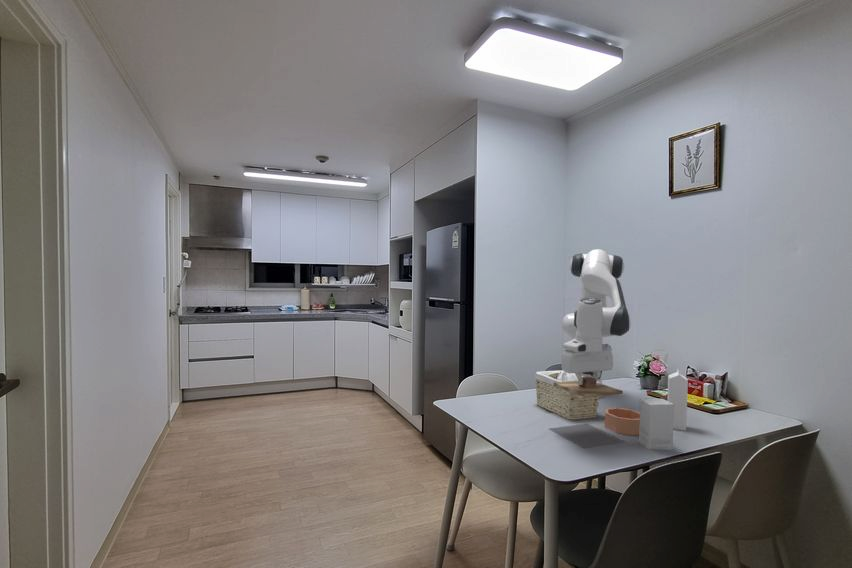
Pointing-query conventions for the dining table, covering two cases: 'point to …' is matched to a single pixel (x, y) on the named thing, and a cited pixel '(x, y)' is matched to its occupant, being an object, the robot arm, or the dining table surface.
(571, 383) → the oak lid
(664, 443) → the skincare box
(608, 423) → the terracotta bowl
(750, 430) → the dining table surface
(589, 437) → the rubber mat
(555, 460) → the dining table surface
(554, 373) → the storage basket
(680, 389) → the milk
